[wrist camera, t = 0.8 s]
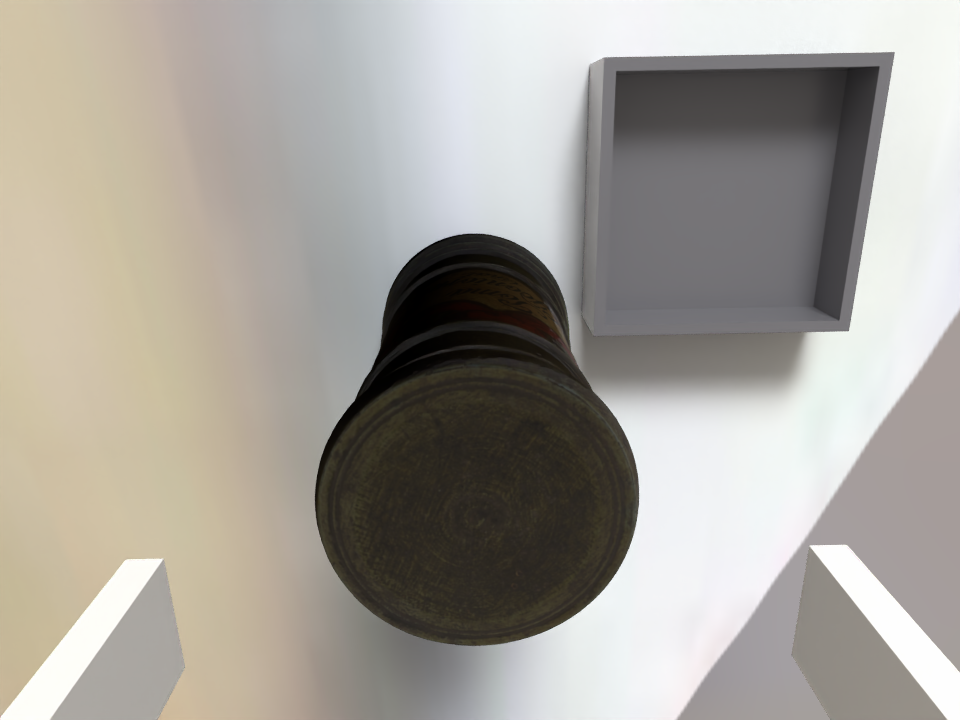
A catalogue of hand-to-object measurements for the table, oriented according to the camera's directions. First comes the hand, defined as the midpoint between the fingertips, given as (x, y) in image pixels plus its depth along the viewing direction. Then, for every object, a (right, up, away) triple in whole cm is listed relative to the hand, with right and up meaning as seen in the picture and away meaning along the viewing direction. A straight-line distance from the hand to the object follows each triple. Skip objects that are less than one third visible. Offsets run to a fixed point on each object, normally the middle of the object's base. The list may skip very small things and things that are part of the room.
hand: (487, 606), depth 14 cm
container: (0, +7, +20) cm, 22 cm away
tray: (+11, +13, +18) cm, 25 cm away
